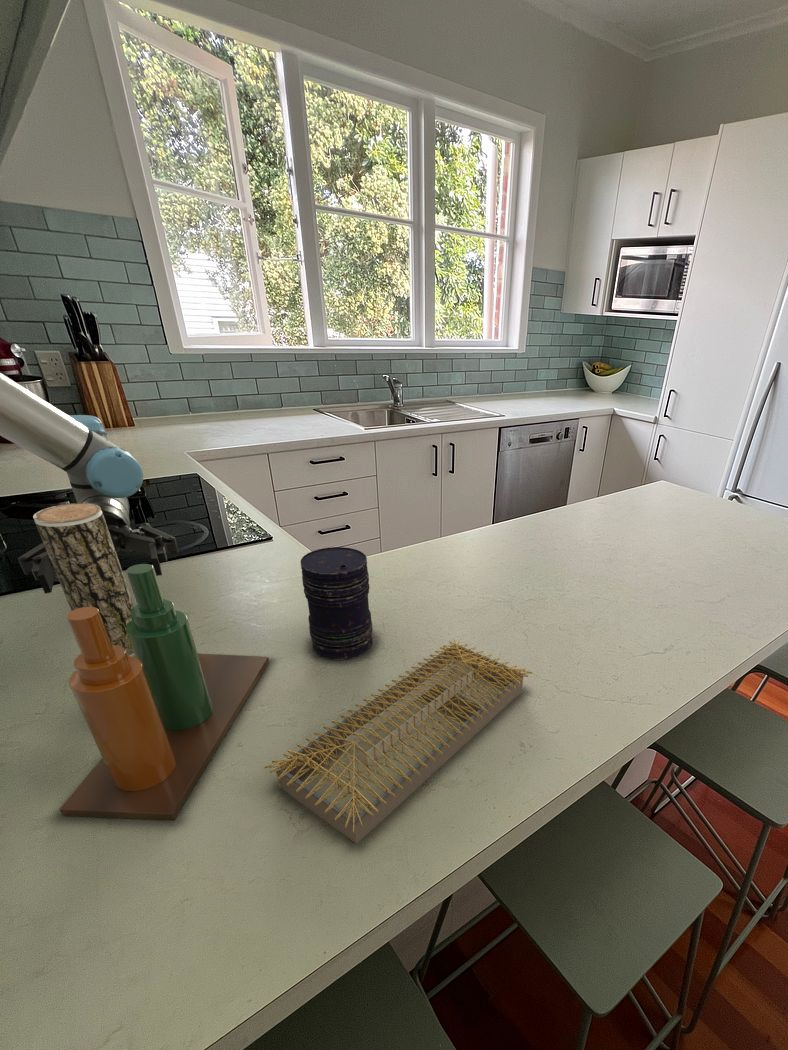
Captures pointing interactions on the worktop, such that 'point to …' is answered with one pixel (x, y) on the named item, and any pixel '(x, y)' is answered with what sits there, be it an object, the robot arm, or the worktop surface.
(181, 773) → the walnut board
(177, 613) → the green bottle
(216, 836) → the worktop surface
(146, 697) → the amber bottle
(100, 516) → the bark cylinder
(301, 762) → the rafter model
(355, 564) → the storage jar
